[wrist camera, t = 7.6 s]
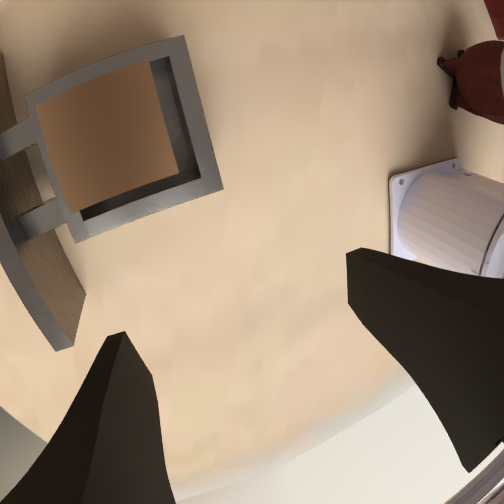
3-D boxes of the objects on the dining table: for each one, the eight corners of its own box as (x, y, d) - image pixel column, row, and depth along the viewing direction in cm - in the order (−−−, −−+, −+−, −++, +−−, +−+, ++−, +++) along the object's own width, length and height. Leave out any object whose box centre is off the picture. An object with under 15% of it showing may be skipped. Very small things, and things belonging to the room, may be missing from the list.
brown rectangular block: (149, 86, 13) (148, 59, 7) (167, 150, 15) (179, 173, 9) (83, 110, 12) (35, 105, 6) (102, 174, 14) (70, 214, 8)
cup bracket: (160, -12, 11) (167, -54, 7) (227, 243, 19) (253, 283, 15) (-13, 63, 9) (-58, 53, 5) (70, 299, 17) (55, 351, 13)
